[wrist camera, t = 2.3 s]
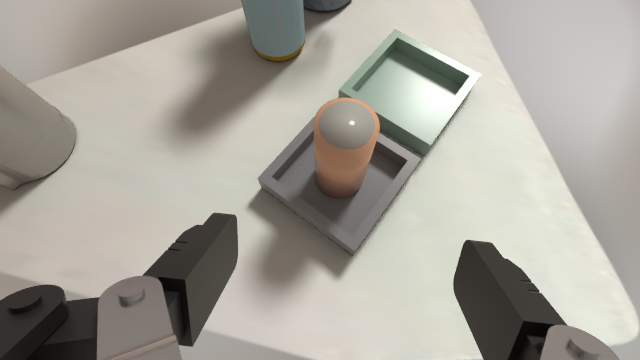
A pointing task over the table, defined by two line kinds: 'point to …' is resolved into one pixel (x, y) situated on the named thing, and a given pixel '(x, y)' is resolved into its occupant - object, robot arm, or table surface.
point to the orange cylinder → (343, 145)
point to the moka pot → (324, 4)
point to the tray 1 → (410, 89)
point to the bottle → (275, 27)
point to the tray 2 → (332, 213)
